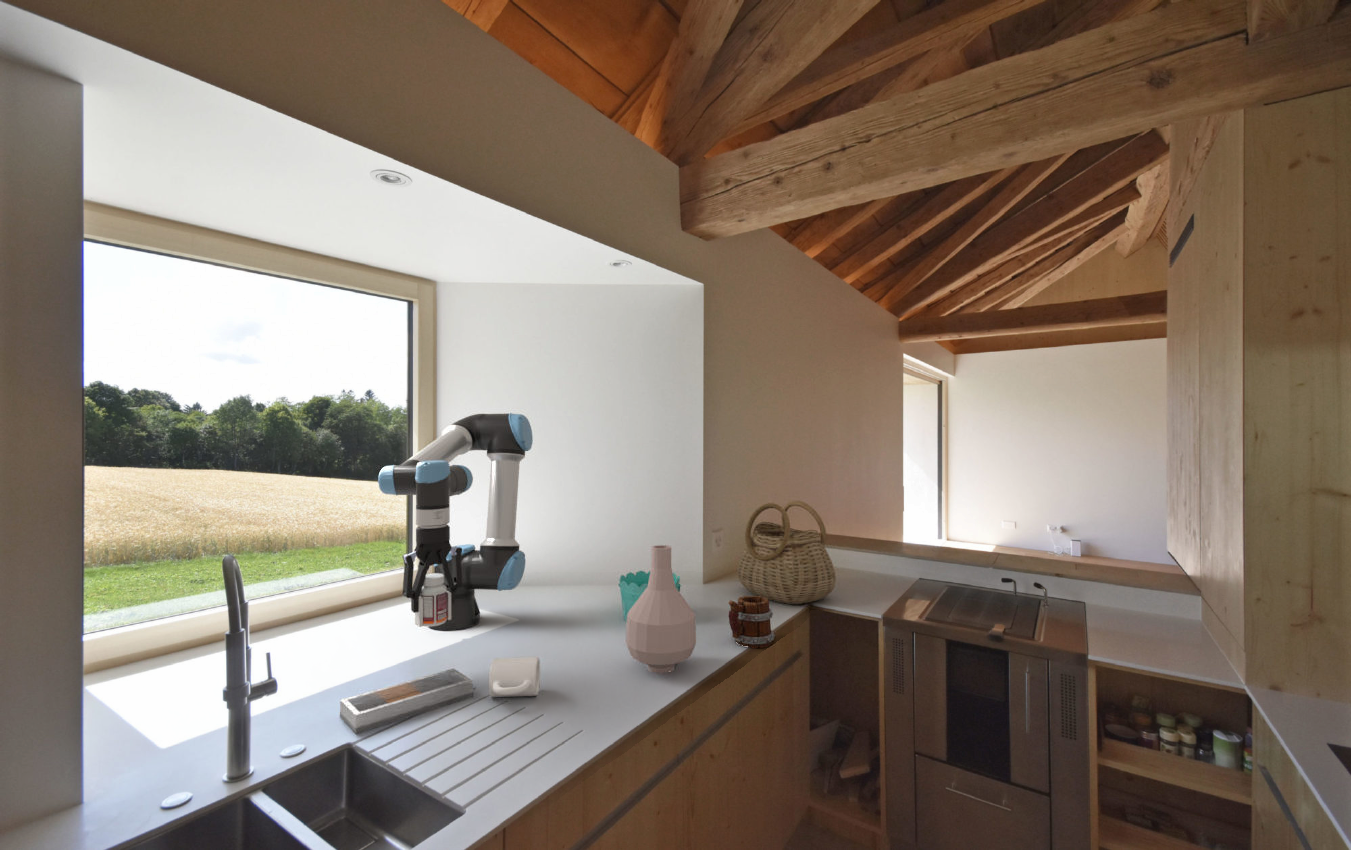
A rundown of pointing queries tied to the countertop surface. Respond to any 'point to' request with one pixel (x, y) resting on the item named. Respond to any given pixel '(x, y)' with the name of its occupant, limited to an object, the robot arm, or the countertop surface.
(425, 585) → the pill bottle
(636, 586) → the bucket
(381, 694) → the tray
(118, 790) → the countertop surface
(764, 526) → the basket
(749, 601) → the mug
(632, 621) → the vase
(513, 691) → the mug
